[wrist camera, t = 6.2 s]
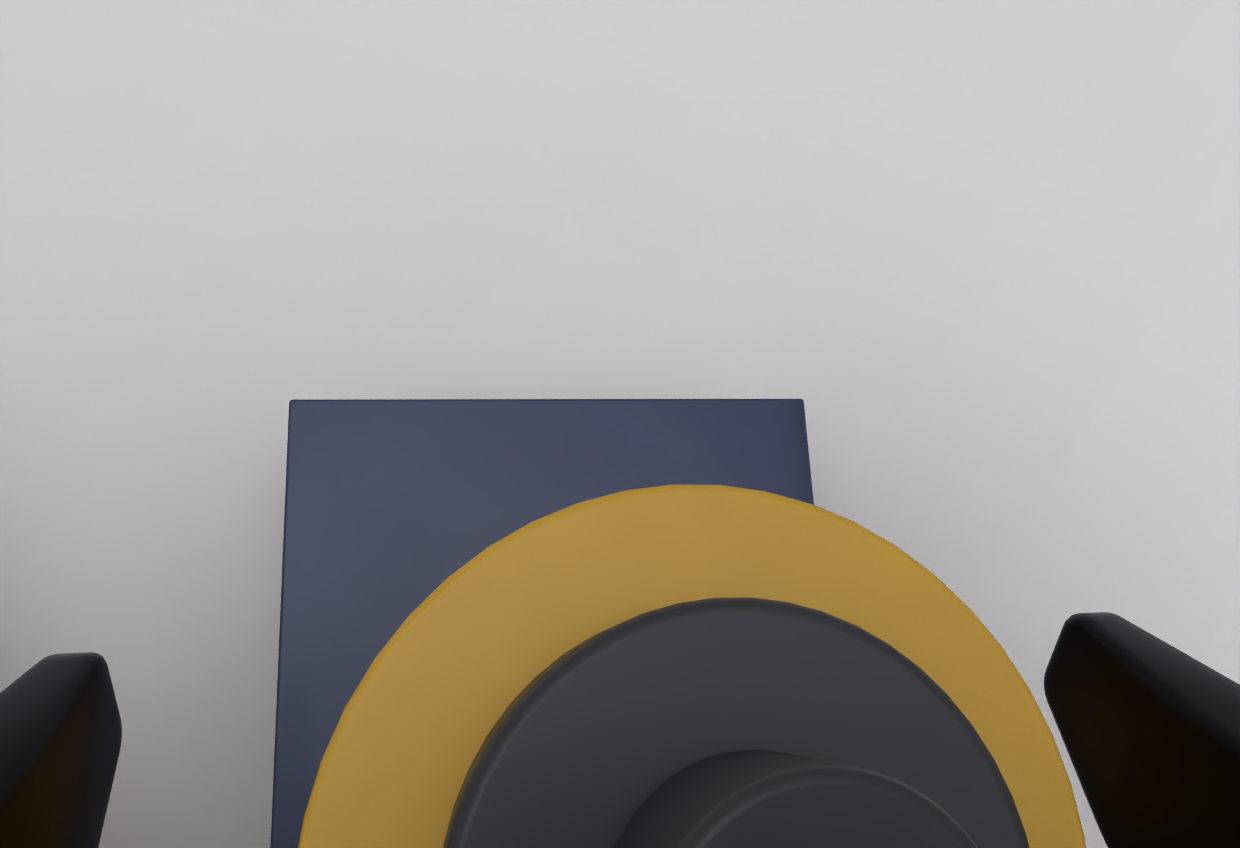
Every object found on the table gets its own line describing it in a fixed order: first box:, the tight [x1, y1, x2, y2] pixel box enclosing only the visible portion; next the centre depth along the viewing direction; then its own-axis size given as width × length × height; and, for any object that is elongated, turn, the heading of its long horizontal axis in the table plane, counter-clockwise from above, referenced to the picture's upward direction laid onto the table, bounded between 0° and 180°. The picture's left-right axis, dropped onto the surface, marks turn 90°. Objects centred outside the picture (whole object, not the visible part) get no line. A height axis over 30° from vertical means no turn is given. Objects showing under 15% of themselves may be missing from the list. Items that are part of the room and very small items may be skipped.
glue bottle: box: [298, 485, 1086, 848], centre depth 9 cm, size 5×5×10 cm
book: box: [271, 399, 814, 848], centre depth 16 cm, size 11×8×4 cm
